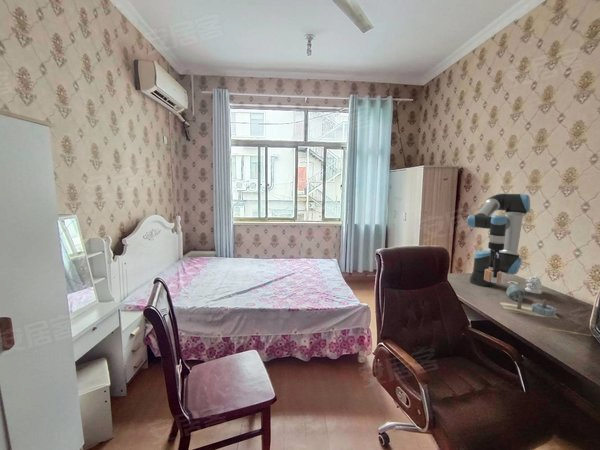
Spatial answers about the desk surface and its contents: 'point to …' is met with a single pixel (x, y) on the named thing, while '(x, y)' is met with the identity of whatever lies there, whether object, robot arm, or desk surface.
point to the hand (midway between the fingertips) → (492, 280)
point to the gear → (543, 309)
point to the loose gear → (489, 275)
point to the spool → (515, 292)
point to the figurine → (534, 285)
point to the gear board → (524, 308)
